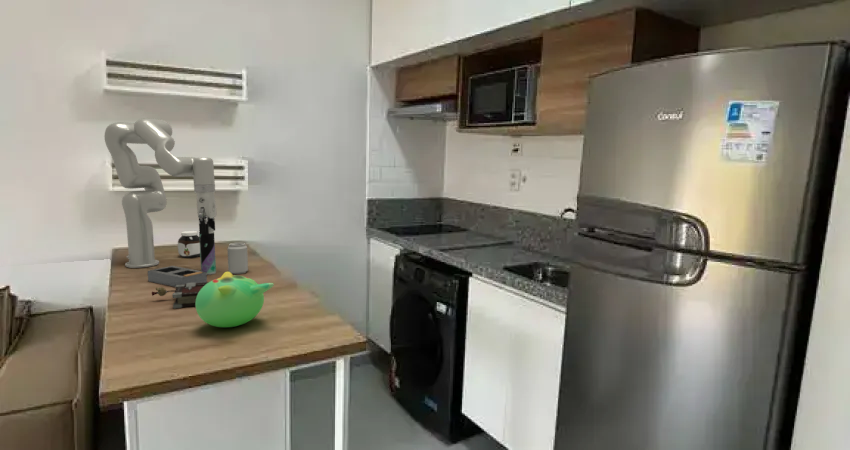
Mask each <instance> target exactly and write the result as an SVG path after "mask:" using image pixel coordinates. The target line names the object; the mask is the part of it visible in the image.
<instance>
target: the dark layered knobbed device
mask: <svg viewBox="0 0 850 450" xmlns="http://www.w3.org/2000/svg"><path fill="white" fill-rule="evenodd" d="M209 282H210V281H207V282H204V283H196V282H193V283H187V284H178V285H176V287H175V289H173V290H166V288H165V287H162V286H160V287H155V290H156V291H151V296H152V297H154V296H155V295H158V296H160V297H164V296H165V295H166V294H167V293H169V292H170V293H171V292H173V293H172V299H175V302H173V303H172V304H173V305H172V308H173V309H181V308H182V309H183V308H185V307H196V306H195V302H196V297H197V295H198V293H199V291H200V290H201V289H202V288H203V287H204V286H205V285H206V284H207V283H209Z"/></svg>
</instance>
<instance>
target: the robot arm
mask: <svg viewBox="0 0 850 450" xmlns="http://www.w3.org/2000/svg"><path fill="white" fill-rule="evenodd" d="M172 135H173V128H172V126H171V124H170V123H169V122H168V121H167V120H164V119H158V118H148V117H146V118H139V119H138V120H136V121H135V122H125V121H124V122H112V123H111V124H109V125H108V126H107V127H106V128H105V131H104V136H103V137H104V142H105V146H106V147H107V150H108V152H109V154H110V156H111V158H112V161H113V165H114V168H115V170H116V174H117V178H118V180H119V183H120V185H121V186H122V187H123V188H124V189H127V190H129V189H130V190H133V189H135V190H134V191H130V192H127V193H126V194H124V195H123V196H122V197H121V198H122V199H121V207H122V209H123V212H124V217H125V223H126V224H125V226H126V236H127V248H128V249H127V251H128V253H127V254H128V255H126V259H128V261H127V262H125V264H124V266H125V267H126V268H131V269H138V268H139V269H140V268H149V267H154V266H157V265H160V260H158V259H155V256H156V255H155V243H154V242H155V241H154V240H155V239H154V228H153V227H154V226H153V222H152V219H151V218H150V216H149V215H148V213H155V212H162V211H163V210H165V209H166V206H167V203H168V202H167V200H168V199H167V195H166V192H165V189H164V185H163V181H162V179H161V176H160V173H159V171H157V169H156V168H154V167H153V166H150V165H140V164H139V161H138V159H137V156H136V154H135V152H134V150H133V149H131V148H130V147H129V145H127V144H133V145H134V144H135V145H137V144H138V145H143V144H144V145H148V146H149V148H150V149H151V150H153V151H154V158H155V161H156V164H157V165H158V166H159V167H160V168H161V169H162V170H163V171H164V172H165V173H167V174H168V175H170V176H172V177H176V178H177V177H192V179H193V193H194V194H196V212H197V213H196V214H197V218H198V227H199V228H198V231H199V232H200V234H209V229H208V224H209V227H210V228H212V229H214V232H215V231H216V221H215V220H216V219H215V217H217V204H216V197H215V193H216V184H215V167H214V160H213V158H212V157H193V156H191V157H190V156H187V157H186V156H174V154H172V153H171V151H173V149H174V147H175V142H176V141H175V139H174V138H173V137H172ZM136 189H144V190H136Z"/></svg>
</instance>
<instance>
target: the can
mask: <svg viewBox="0 0 850 450" xmlns="http://www.w3.org/2000/svg"><path fill="white" fill-rule="evenodd" d="M226 250H227V266H228V267H227V268H228V271H227V272H230V273H232V275H241V274H246V273H247V272H248V271H249V263H248V262H249V261H248V258H249V257H248V246H247V245H246V243H245V242H231V243H229V244H228V247H227V249H226Z"/></svg>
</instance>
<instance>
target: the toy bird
mask: <svg viewBox="0 0 850 450" xmlns="http://www.w3.org/2000/svg"><path fill="white" fill-rule="evenodd" d="M208 282H209V283H207V284H206V285H205V286H204V287H203V288H202V289H201V290H200V291H199V293H198V295H197V297H196V302H195V306H194V307H195V310H196V313H197V315H198V317H199V318H200V319H201V320H202V321H203V322H204V323H205V324H207V325H210V326H212V327H215V328H216V327H217V328H233V327H238V326H242V325H244V324H247V323H248V322H250V321H251V320H253V319H254V318H255V317H257V316H258V314H260V312H261V310H262V308H263V305H264V301H265V297H264V296H265V295H264V293H265V292H267V291H268V290H270V289H272V288H273V287H274V285H275V284H274V283H273V282H264V283H257V282H256V280H254V279H252V278H250V277H248V276H245V275H244V276H243V275H237V274H232V273H230V272H229V271H225V272H223V274H222V275H221V276H220V277H217V278H215V279H212V280H210V281H208Z"/></svg>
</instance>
